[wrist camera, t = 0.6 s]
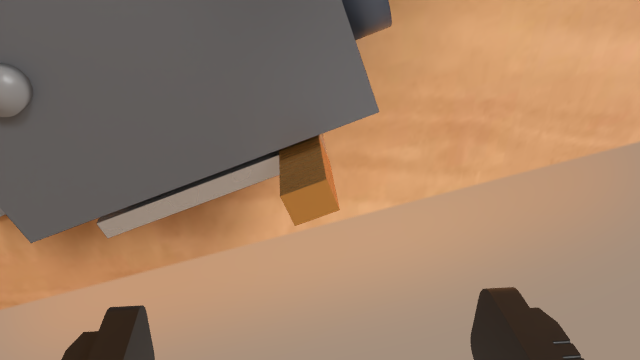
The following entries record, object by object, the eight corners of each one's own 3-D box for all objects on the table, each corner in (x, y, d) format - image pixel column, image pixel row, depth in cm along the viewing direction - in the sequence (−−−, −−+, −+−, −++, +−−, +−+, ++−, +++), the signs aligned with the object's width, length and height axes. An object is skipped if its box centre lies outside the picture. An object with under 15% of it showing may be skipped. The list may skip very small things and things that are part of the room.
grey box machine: (324, -145, 26) (353, -160, 17) (387, 60, 32) (435, 133, 22) (-144, 62, 29) (-337, 145, 20) (-8, 213, 35) (-109, 333, 26)
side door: (307, 77, 31) (326, 179, 20) (316, 100, 31) (339, 210, 21) (131, 146, 32) (62, 275, 21) (144, 167, 33) (84, 300, 22)
